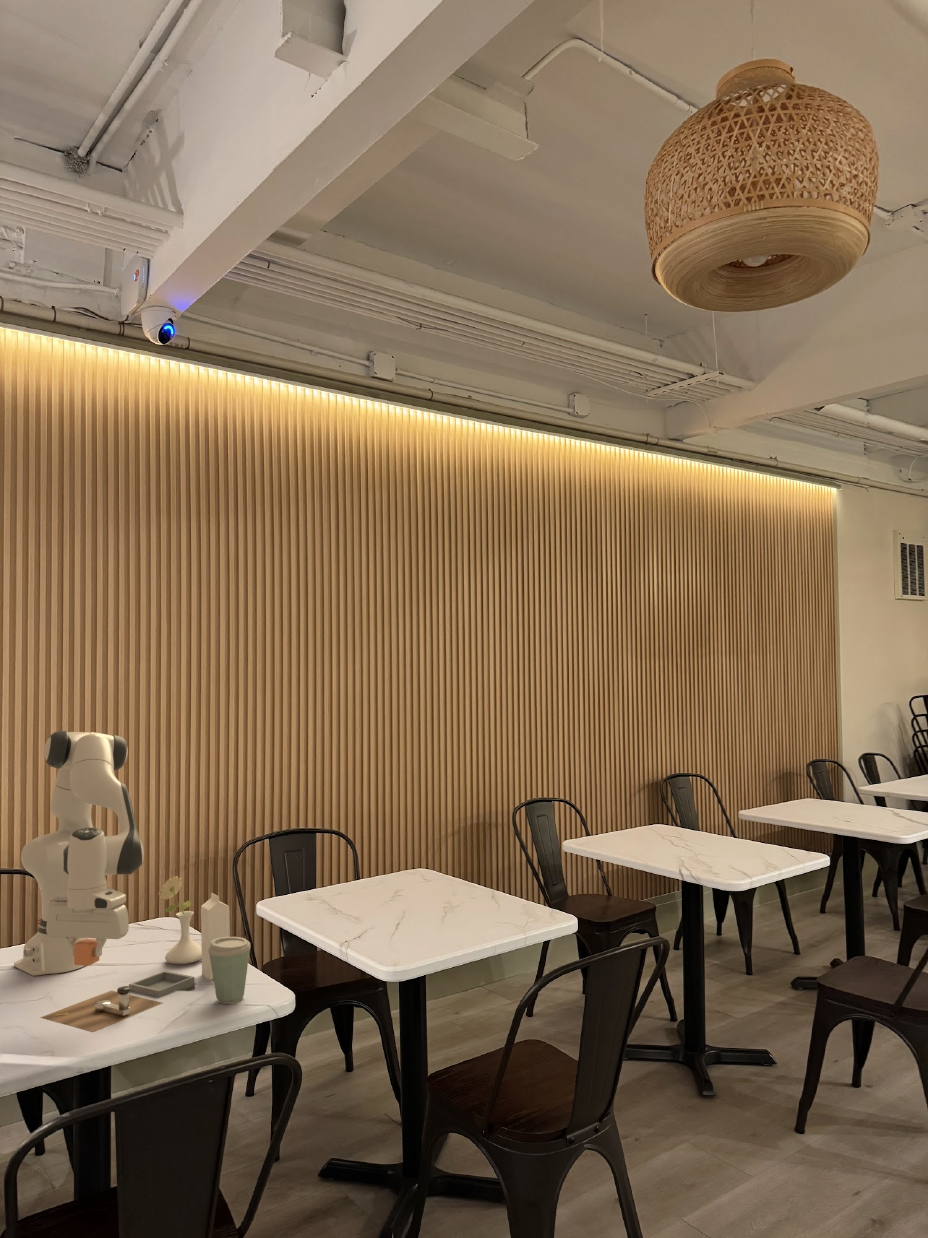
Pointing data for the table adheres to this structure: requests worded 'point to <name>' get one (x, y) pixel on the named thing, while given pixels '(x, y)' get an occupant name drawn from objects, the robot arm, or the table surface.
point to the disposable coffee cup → (229, 967)
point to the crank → (114, 1008)
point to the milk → (212, 929)
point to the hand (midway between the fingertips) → (87, 956)
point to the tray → (163, 984)
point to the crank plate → (98, 1012)
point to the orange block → (85, 952)
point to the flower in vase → (185, 947)
